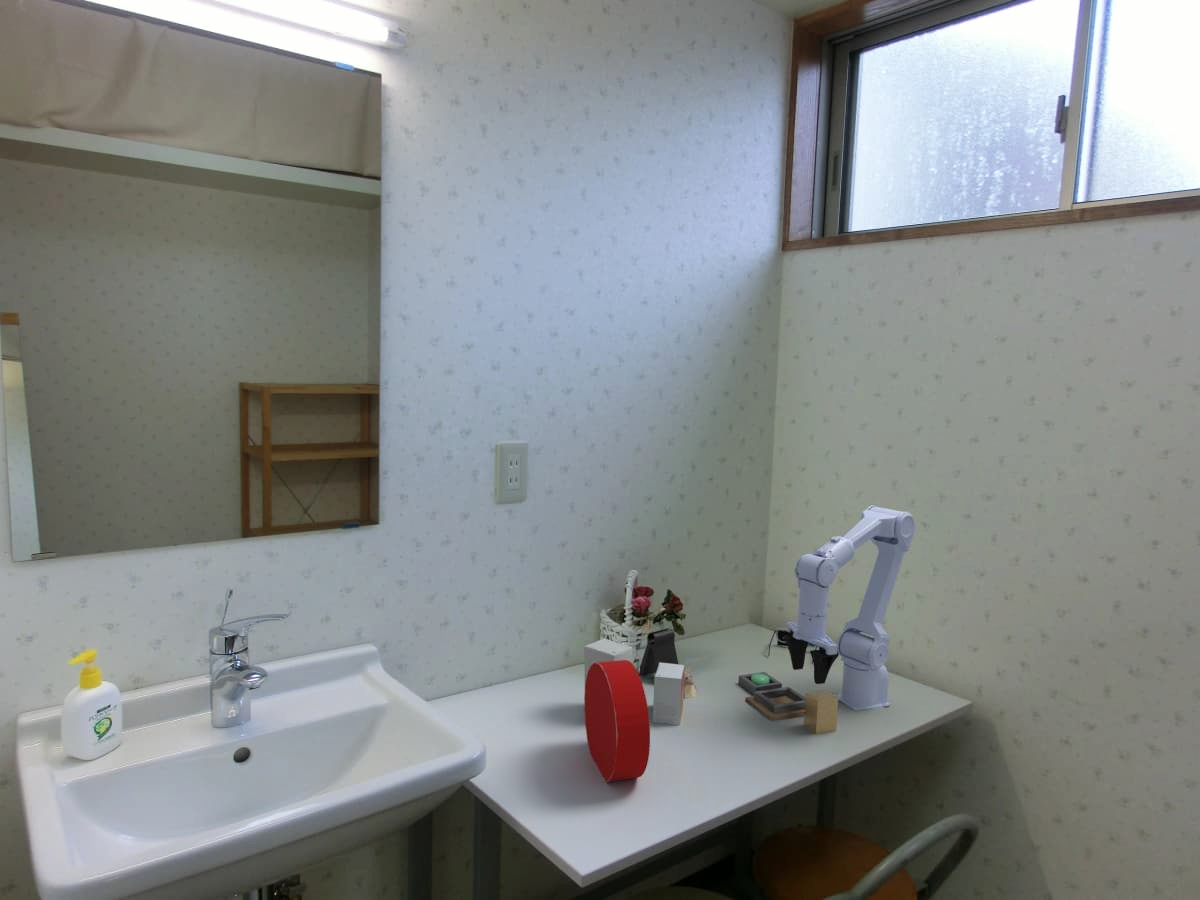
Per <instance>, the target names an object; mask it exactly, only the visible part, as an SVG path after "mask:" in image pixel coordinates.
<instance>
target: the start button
mask: <svg viewBox="0 0 1200 900" xmlns="http://www.w3.org/2000/svg"><path fill="white" fill-rule="evenodd" d="M752 674H753V675H752V676H751V681H752V682H753V683H754V684H756V685H762V684H769V677H768V676H767V675H764V674H754V673H752Z"/></svg>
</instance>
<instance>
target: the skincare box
mask: <svg viewBox="0 0 1200 900" xmlns="http://www.w3.org/2000/svg"><path fill="white" fill-rule="evenodd" d="M633 648H634V647H632V646H629V645H626V644H623V643H619V642H616V641H613V640H610V639H608V638H602V639H600V640H597V641H594V642H592V643H589V644H587V645H584V649H583V650H584V684H585V683H586V677H587V673H588V670H589V668H590V666H591V665H592V664H593V663H595V662H607V661H620V660H628V661H630V662H631V663H632V664H633V665H634V663H633V662H634V661H633Z"/></svg>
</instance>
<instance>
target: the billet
mask: <svg viewBox="0 0 1200 900" xmlns="http://www.w3.org/2000/svg"><path fill="white" fill-rule="evenodd" d="M834 695H835V694H833V693H831V692H829V691H828V690H826V689H825V690H817V691H811V692H806V693H805V714H804V716H803V726H804V727H805V728H807V730H809V731H810V732H812V733H814V734H815V735H821V734H826V733H832V732H837V722H838V709H839V699H838V697H836V696H837V695H836V696H834Z"/></svg>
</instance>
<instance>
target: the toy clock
mask: <svg viewBox="0 0 1200 900" xmlns="http://www.w3.org/2000/svg"><path fill="white" fill-rule="evenodd" d="M641 679H642V678H641V675H639V674H638V670H637V668H636V666H635V665H634V663H633V664H632V663H631V662H630V661H628V660H620V661H607V662H595V663H593V664H592V665H591V666H590V668H589V670H588V673H587V677H586V683H585V682H584V696H583V697H584V698H583V699H584V702H583V703H584V705H583V706H584V707H583V708H584V724H585V732H586V739H587V744H588V745H587V746H588V750H589V754H590V756H591V759H592V760H593V761H594V763H595V766H596V767H597V769H598V770H599V772H600V774H601V776H602V778H603V780H604V782H605V783H610V782H615V781H616V782H617V781H623V780H631V779H638V778H640V777H642V776H643V774H645V771H646V769H647V766H648V762H649V757H650V749H651V748H650V747H651V727H650V725H651V724H650V716H649V715H650V714H649V707H648V702H647V697H646V696H647V695H646V692H645V688H644V686H643V681H642V680H641Z"/></svg>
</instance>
